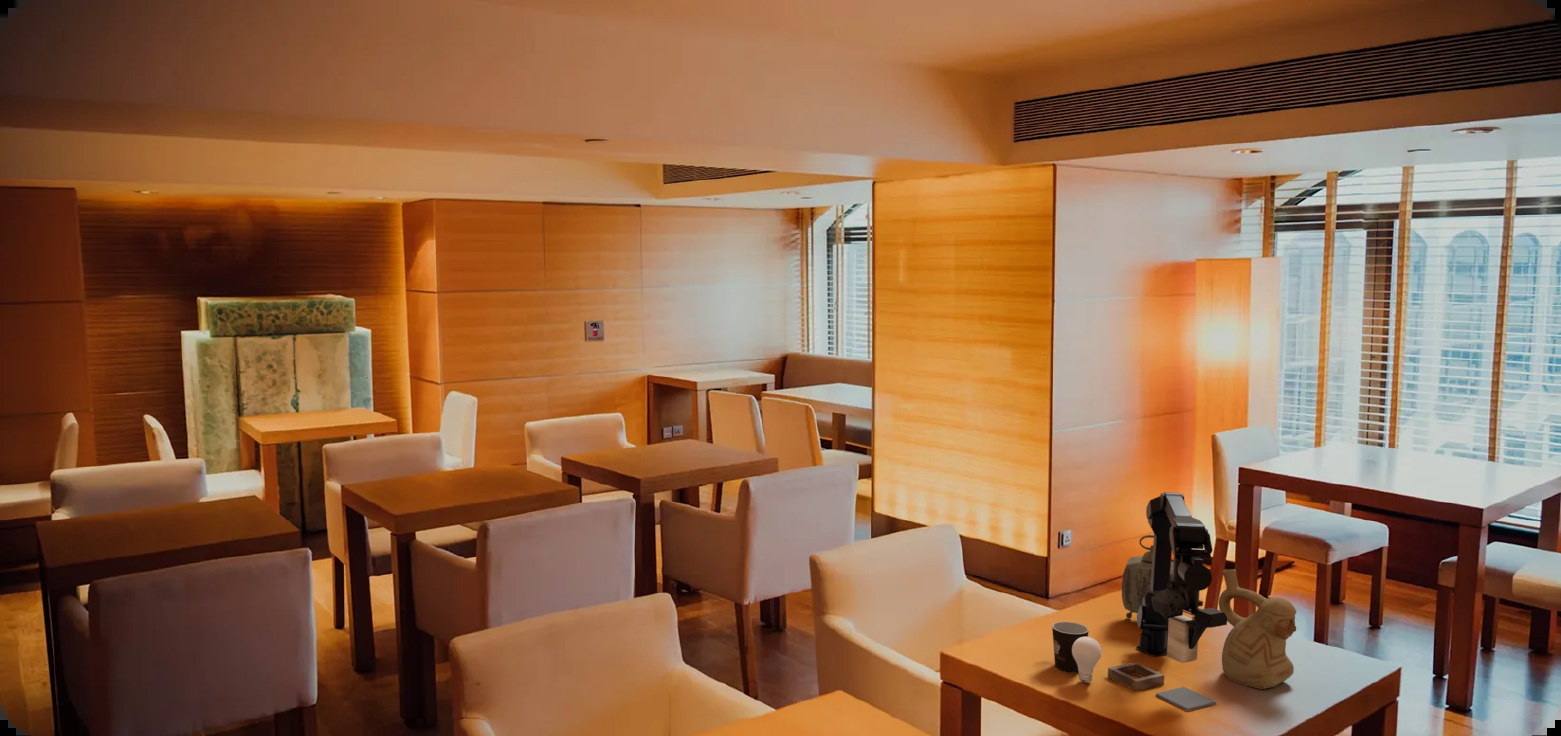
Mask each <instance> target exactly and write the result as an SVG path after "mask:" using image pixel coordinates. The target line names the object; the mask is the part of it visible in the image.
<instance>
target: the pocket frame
mask: <svg viewBox="0 0 1561 736" xmlns="http://www.w3.org/2000/svg"><path fill="white" fill-rule="evenodd" d="M1134 674H1136V675H1138V676H1139V677H1140V678H1139V677H1138V678H1136V677H1133V676H1132V675H1134ZM1107 678H1109V679H1111V680H1112V681H1115V682H1118V683H1120V684H1122V685H1123V686H1126V687H1128V688H1130V689H1132V690H1134V691H1141V690H1145V689H1150V688H1153V687H1158V686H1163V685H1164V684H1165V674H1164V673H1160V672H1158V671H1156V670H1154V669H1151V668H1150V667H1147V666H1146V665H1143V664H1140V663H1138V662H1137V661H1134V662H1129V663H1125V664H1120V665H1115V666H1110V667H1108V668H1107Z"/></svg>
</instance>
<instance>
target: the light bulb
mask: <svg viewBox="0 0 1561 736" xmlns="http://www.w3.org/2000/svg"><path fill="white" fill-rule="evenodd" d="M1072 654H1073V657H1074V659H1075V661H1076V663H1077V665H1078V671H1079V672H1078V680H1079V681H1080V682H1081V683H1083V684H1089V683H1091V682H1092V681H1093V676H1092V675H1093V674H1094V668H1095V666H1096V665H1097V663H1098V662H1099V661H1100V659H1101V658H1102V657H1101V656H1102V648H1101V645H1100V643H1099V642H1098V641H1097V640H1096V639H1094V638H1093V637H1090V636H1088V637H1080V638H1078V639H1077V640H1076V641H1075V642H1074V644H1073V646H1072Z"/></svg>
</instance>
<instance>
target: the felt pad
mask: <svg viewBox="0 0 1561 736" xmlns="http://www.w3.org/2000/svg"><path fill="white" fill-rule="evenodd" d="M1155 697H1157V698H1159V699H1161V700H1164V701H1165V702H1168V703H1170V704H1172V705H1174V706H1175V707H1177V708H1180V709H1182V710H1184V711H1186V712H1191V711H1193V710H1199V709H1202V708H1205V707H1210V706H1213V705H1217V700H1214V699H1212V698H1209V697H1207V696H1205V695H1203V694H1200V693H1199V692H1197V691H1194V690H1192V689H1190V688H1188V687H1186V686H1180V687H1176V688H1173V689H1169V690H1164V691H1160V692H1156V693H1155Z"/></svg>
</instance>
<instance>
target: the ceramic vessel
mask: <svg viewBox="0 0 1561 736" xmlns="http://www.w3.org/2000/svg"><path fill="white" fill-rule="evenodd" d="M1222 575H1223V577H1224V581H1225V587H1226V589H1224V590H1223V591H1222V592H1221V594H1220V596H1219V599H1218V608H1219V610H1220V611H1223V612H1225V614H1226V615H1227V623H1229V624H1230V625H1231V626H1233V627H1232V629H1231V630H1230V631H1229V632H1228V634H1227V636H1226V638H1225V640H1224V644H1223V648H1222V653H1221V665H1222V666H1221V667H1222V671H1223V674H1224V675H1225V677H1226V678H1228V679H1229V680H1231V681H1233V682H1235V683H1238V684H1240V685H1243V686H1246V687H1250V688H1256V689H1259V690H1266V689H1270V688H1274V687H1276V686H1278V685H1279V684H1281V683H1284V682H1286V681H1287V680H1288V679H1289V678H1291V676H1293V674H1294V672H1295V671H1294V670H1295V667H1294V664H1293V661H1291V660H1290V658H1289V657H1288V655H1287V654H1286V653H1287V652H1286V646H1287V640H1288V639H1289V638H1290V637H1292V635H1293V634H1294V633H1295V632H1297V626H1296V614H1297V609H1296V607H1295V606H1294V605H1293V603H1292V602H1291V601H1290V600H1288V599H1286V598H1283V597H1281V596H1279V597H1278V596H1273V597H1269V598H1266V597H1264V596H1263V595H1261V594H1259V593H1258V592H1256V591H1253V590H1250V589H1248V588H1244V587H1243V588H1242V587H1240V586H1239V583H1238V578H1237V569H1235V568H1230V569H1224V570H1222ZM1235 598H1236V599H1244V600H1246V601H1249V602H1250V603H1252V604H1253V605H1255V606H1256V607H1257V610H1256V611H1255V612H1253V613H1252V614H1250V615H1249V616H1247V617H1242V616H1240V615H1238V614H1237V613H1235V611H1234V610H1233V608H1232V606H1231V601H1232V600H1233V599H1235Z"/></svg>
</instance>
